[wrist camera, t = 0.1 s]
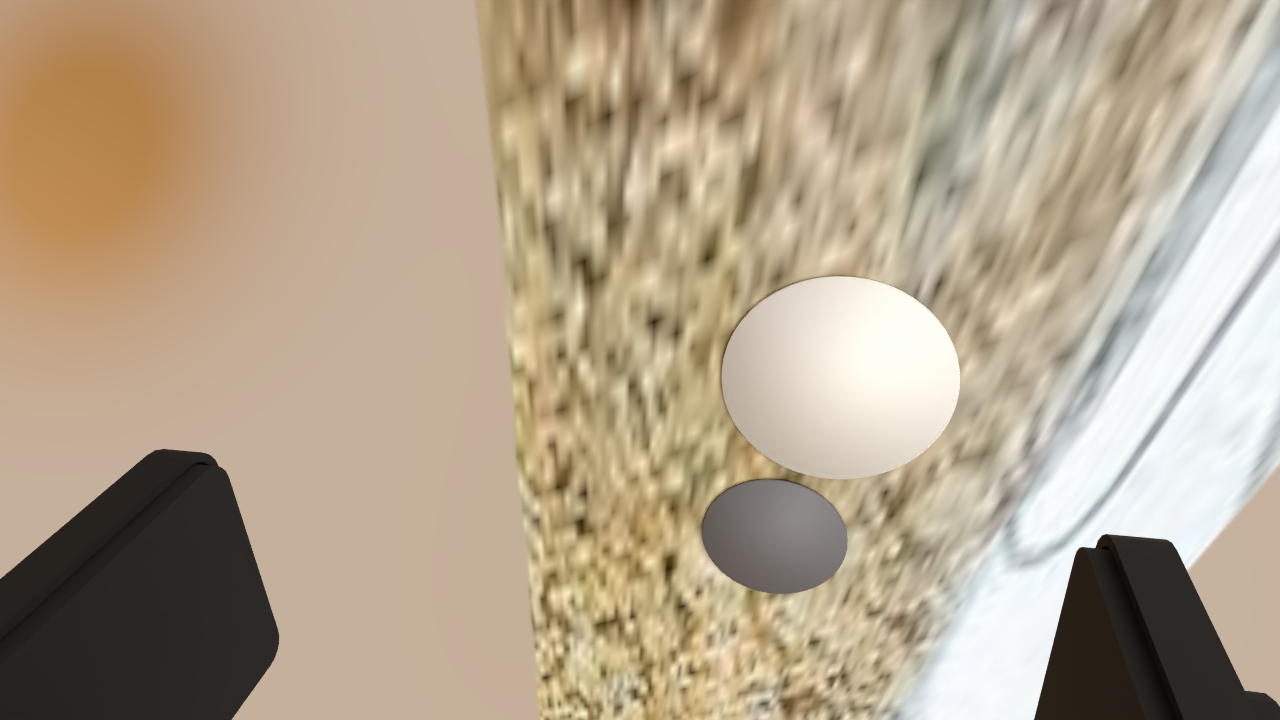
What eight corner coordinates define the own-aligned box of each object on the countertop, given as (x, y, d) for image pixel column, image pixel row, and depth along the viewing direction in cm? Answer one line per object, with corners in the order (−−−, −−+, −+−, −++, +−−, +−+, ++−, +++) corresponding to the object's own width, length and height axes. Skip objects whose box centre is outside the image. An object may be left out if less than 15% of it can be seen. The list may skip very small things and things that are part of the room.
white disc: (677, 346, 51) (677, 348, 51) (883, 231, 45) (883, 232, 45) (799, 508, 55) (799, 510, 54) (1002, 420, 49) (1003, 422, 49)
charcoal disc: (675, 513, 57) (675, 515, 57) (797, 456, 53) (797, 458, 53) (753, 608, 59) (753, 611, 59) (874, 561, 55) (874, 564, 55)
